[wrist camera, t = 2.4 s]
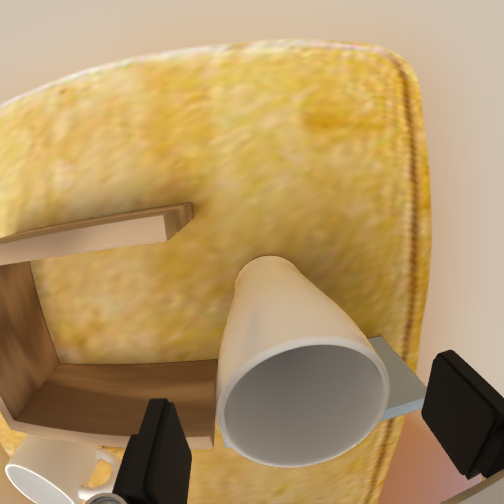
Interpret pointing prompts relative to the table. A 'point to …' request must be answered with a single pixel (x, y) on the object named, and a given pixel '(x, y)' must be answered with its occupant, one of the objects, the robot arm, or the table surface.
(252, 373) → the drinking glass
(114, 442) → the u-shaped wooden frame
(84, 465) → the mug
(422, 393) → the thin blue-gray plank
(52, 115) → the table surface
